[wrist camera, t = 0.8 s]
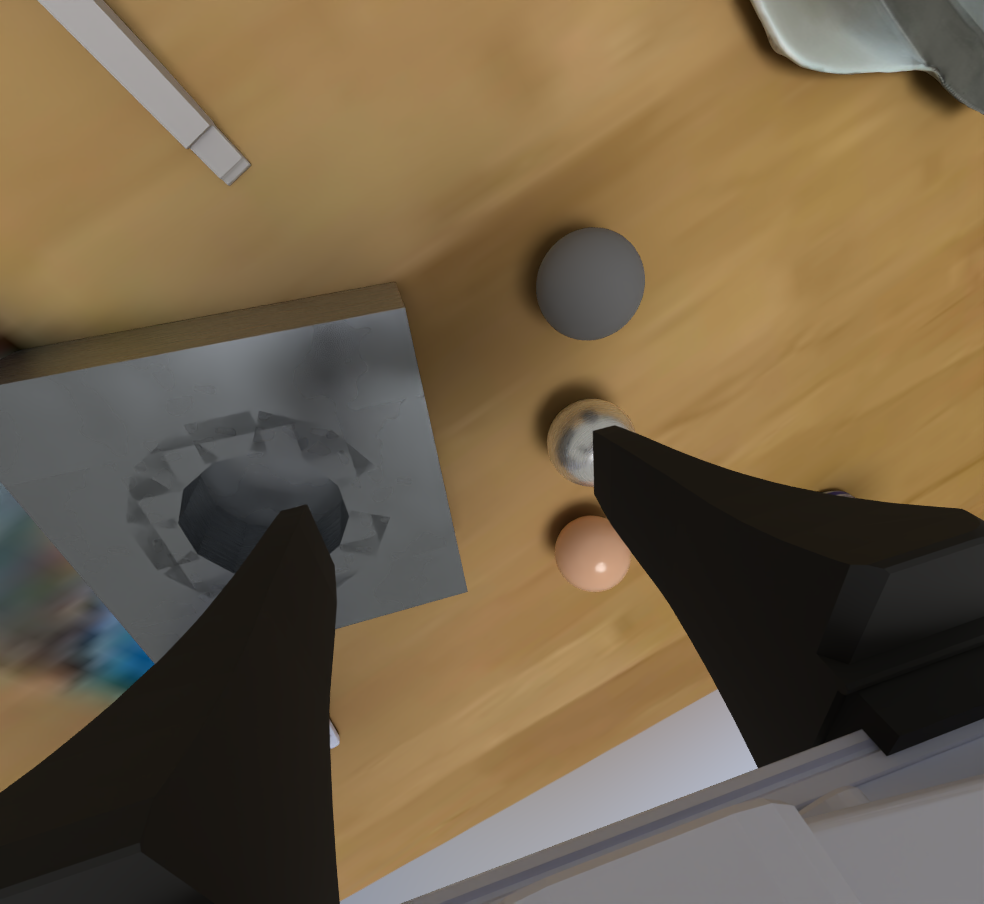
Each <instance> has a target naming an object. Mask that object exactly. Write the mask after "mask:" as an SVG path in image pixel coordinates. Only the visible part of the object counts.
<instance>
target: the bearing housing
mask: <svg viewBox="0 0 984 904" xmlns="http://www.w3.org/2000/svg"><path fill="white" fill-rule="evenodd" d="M0 482H1V483H2V484H3V485H4V487H5V488H6V489H7V490H8V491H9V492H10V494H11V495H12V496H13V497H14V498H15V499H16V501H17V502H18V503H19V504H20V505H21V507H22V508H23V509H24V510H25V511H26V512H27V514H28V515H29V516H30V517H31V518H32V520H33V521H34V522H35V523H36V524H37V525H38V527H39V528H40V529H41V530H42V531H43V533H44V534H45V535H46V536H47V537H48V538H49V540H50V541H51V542H52V543H53V544H54V546H55V547H56V548H57V549H58V550H59V551H60V553H61V554H62V555H63V556H64V557H65V558H66V560H67V561H68V562H69V563H70V564H71V566H72V567H73V568H74V569H75V570H76V571H77V573H78V574H79V575H80V576H81V577H82V579H83V580H84V581H85V582H86V583H87V584H88V586H89V587H90V588H91V589H92V590H93V592H94V593H95V594H96V595H97V596H98V597H99V599H100V600H101V601H102V602H103V603H104V604H105V606H106V607H107V608H108V609H109V610H110V612H111V613H112V614H113V615H114V616H115V617H116V619H117V620H118V621H119V622H120V623H121V625H122V626H123V627H124V628H125V629H126V630H127V632H128V633H129V634H130V635H131V636H132V638H133V639H134V640H135V641H136V642H137V643H138V645H139V646H140V647H141V648H142V649H143V650H144V652H145V653H146V654H147V655H148V656H149V658H150V659H151V660H152V661H153V662H154V663H155V664H156V663H157V662H158V661H159V660H160V659H161V658H162V657H163V656H164V655H165V654H166V653H167V652H168V651H169V650H170V649H171V647H172V646H173V645H174V644H175V643H176V642H177V641H178V640H179V639H180V638H181V637H182V636H183V635H184V634H185V633H186V632H187V631H188V630H189V628H190V627H191V626H192V625H193V624H194V623H195V622H196V621H197V620H198V618H199V617H200V616H201V615H202V614H203V613H204V612H205V610H206V609H207V608H208V607H209V605H210V604H211V603H212V602H213V600H214V599H215V598H216V597H217V596H218V594H219V593H220V592H221V591H222V589H223V588H224V587H225V586H226V584H227V583H228V582H229V581H230V579H231V578H232V577H233V576H234V574H235V573H236V572H237V570H238V569H239V568H240V566H241V565H242V564H243V562H244V561H245V560H246V558H247V557H248V555H249V554H250V553H251V551H252V550H253V549H254V547H255V546H256V544H257V543H258V542H259V540H260V539H261V537H262V536H263V535H264V533H265V532H266V530H267V529H268V527H269V526H270V525H271V523H272V522H273V520H274V519H275V518H276V516H277V515H278V514H279V513H280V511H282V510H286V509H290V508H294V507H298V506H302V505H306V504H307V505H308V507H309V509H310V512H311V514H312V516H313V518H314V521H315V523H316V525H317V527H318V529H319V532H320V534H321V536H322V538H323V541H324V543H325V545H326V547H327V549H328V552H329V554H330V556H331V558H332V561H333V563H334V565H335V576H336V592H337V611H336V625H335V629H337V628H341V627H345V626H348V625H352V624H355V623H359V622H362V621H366V620H369V619H373V618H376V617H380V616H383V615H387V614H390V613H394V612H397V611H401V610H405V609H408V608H412V607H415V606H419V605H422V604H426V603H429V602H433V601H436V600H440V599H443V598H447V597H450V596H454V595H458V594H461V593H465V592H468V591H467V586H466V582H465V577H464V573H463V568H462V564H461V559H460V555H459V550H458V546H457V541H456V537H455V532H454V528H453V523H452V518H451V514H450V509H449V505H448V500H447V496H446V491H445V487H444V482H443V478H442V473H441V469H440V464H439V460H438V455H437V451H436V446H435V442H434V437H433V432H432V428H431V423H430V419H429V414H428V410H427V405H426V401H425V396H424V392H423V387H422V383H421V378H420V374H419V369H418V365H417V360H416V355H415V351H414V346H413V342H412V337H411V333H410V328H409V324H408V319H407V315H406V310H405V306H404V304H403V301H402V298H401V296H400V293H399V290H398V288H397V285H396V282H391V283H386V284H380V285H375V286H369V287H364V288H358V289H353V290H347V291H342V292H336V293H331V294H325V295H320V296H314V297H309V298H303V299H298V300H292V301H287V302H282V303H276V304H271V305H265V306H260V307H254V308H249V309H243V310H238V311H232V312H227V313H221V314H216V315H210V316H205V317H199V318H194V319H188V320H183V321H177V322H172V323H166V324H161V325H156V326H150V327H145V328H139V329H134V330H128V331H123V332H117V333H112V334H106V335H101V336H95V337H90V338H84V339H79V340H73V341H68V342H62V343H57V344H51V345H46V346H40V347H35V348H30V349H24V350H19V351H16V352H14V353H12V354H10V355H8V356H7V357H5V358H3V359H1V360H0Z"/></svg>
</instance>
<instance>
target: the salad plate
mask: <svg viewBox="0 0 984 904" xmlns="http://www.w3.org/2000/svg"><path fill="white" fill-rule="evenodd" d="M750 1H751V3H752V5H753V7H754V9H755V11H756V14H757V16H758V17H759V19H760V21H761V22H762V24H763V27H764V29H765V32H766V34H767V37H768V40H769V43H770V45H771V47H772V49H773V50H774V51H775V52H776V53H778V54H780V55H783V56H785V57H787V58H788V59H790V60H791V61H792V62H794V63H795V64H797V65H798V66H800V67H803V68H807V69H811V70H815V71H819V72H826V73H834V74H851V75H853V74H859V73H867V72H898V71H912V70H919V71H925V72H927V73H928V74H930V75H931V76H933V77H934V78H935V79H936V80H937V81H939V82H940V84H941V85H942V86H943V87H944V88H945V89H946V90H947V91H948V92H949V93H950V95H952V96H953V97H954V98H955V99H957V100H958V101H959V102H961V103H963V104H965V105H966V106H968V107H969V108H972V109H974V110H976V111H978V112H980V113H981V114H983V115H984V0H750Z"/></svg>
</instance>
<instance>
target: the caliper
mask: <svg viewBox="0 0 984 904" xmlns="http://www.w3.org/2000/svg"><path fill="white" fill-rule="evenodd" d="M38 1H39V2H40V3H41V4H42V5H43V6H44V7H45V8H46V9H47V10H48V11H49V12H50V13H51V14H52V15H53V16H54V17H55V18H56V19H57V20H58V21H59V22H60V23H61V24H62V25H63V26H64V27H65V28H66V29H67V30H68V31H69V32H70V33H71V34H72V35H73V36H74V37H75V38H76V39H77V40H78V41H79V42H80V43H81V44H82V45H83V46H84V47H85V48H86V49H87V50H88V51H89V52H90V53H91V54H92V55H93V56H94V57H95V58H96V59H97V60H98V61H99V62H100V63H101V64H102V65H103V66H104V67H105V68H106V69H107V70H108V71H109V72H110V73H111V74H112V75H113V76H114V77H115V78H116V79H117V80H118V81H119V82H120V83H121V84H122V85H123V86H124V87H125V88H126V89H127V90H128V91H129V92H130V93H131V94H132V95H133V96H134V97H135V98H136V99H137V100H138V101H139V102H140V103H141V104H142V105H143V106H144V107H145V108H146V109H147V110H148V111H149V112H150V113H151V114H152V115H153V116H154V117H155V118H156V119H157V120H158V121H159V122H160V123H161V124H162V125H163V126H164V127H165V128H166V129H167V130H168V131H169V132H170V133H171V134H172V135H173V136H174V137H175V138H176V139H177V140H178V141H179V142H180V143H181V144H182V145H183V146H184V147H185V148H186V149H189V148H190V149H191V150H192V151H193V152H194V153H195V154H196V155H197V156H198V157H199V158H200V159H201V160H202V161H203V162H204V163H205V164H206V165H207V166H208V167H209V168H210V169H211V170H212V171H213V172H214V173H215V174H216V175H217V176H218V177H219V178H220V179H222V180H223V181H224V182H225V183H226V184H227V185H229V186H230V185H231V184H232V183H233V182H234V181H235V180H236V179H237V178H238V177H239V176H240V175H241V174H242V173H244V172H245V171H246V170H247V169H248V168H249V167H250V166H251V164H250V163H249V162H248V160H247V159H246V158H245V157H244V156H243V155H242V154H241V153H240V152H239V150H238V149H237V148H236V147H235V146H234V145H233V144H232V143H231V142H230V141H229V140H228V139H227V137H226V136H225V135H224V134H223V133H222V132H221V131H220V130H219V129H218V128H217V127H216V126H215V125H214V122H213V121H212V120H211V119H210V117H209V116H208V115H207V114H206V113H205V112H204V111H203V110H202V108H201V107H200V106H199V105H198V104H197V103H196V102H195V101H194V99H193V98H192V97H191V96H190V95H189V94H188V93H187V92H186V90H185V89H184V88H183V87H182V86H181V85H180V84H179V83H178V81H177V80H176V79H175V78H174V77H173V76H172V75H171V74H170V72H169V71H168V70H167V69H166V68H165V67H164V66H163V65H162V64H161V63H160V61H159V60H158V59H157V58H156V57H155V56H154V55H153V54H152V53H151V52H150V51H149V49H148V48H147V47H146V46H145V45H144V44H143V43H142V42H141V41H140V40H139V39H138V38H137V36H136V35H135V34H134V33H133V32H132V31H131V30H130V29H129V28H128V27H127V26H126V24H125V23H124V22H123V21H122V20H121V19H120V18H119V17H118V16H117V15H116V14H115V13H114V11H113V10H112V9H111V8H110V7H109V6H108V5H107V4H106V3H105V2H104V1H103V0H38Z"/></svg>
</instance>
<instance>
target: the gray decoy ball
mask: <svg viewBox="0 0 984 904" xmlns="http://www.w3.org/2000/svg"><path fill="white" fill-rule="evenodd" d="M644 287H645V274H644V268H643V264H642V261H641V258H640V256H639V254H638V253H637V251H636V249H635V248H634V246H633V245H632V244H631V243H630V242H629V241H628V240H627V239H626V238H624V237H623V236H622V235H620V234H618V233H616V232H614V231H611V230H609V229H605V228H595V227H591V228H584V229H580V230H576V231H574V232H571V233H569V234H567V235H566V236H564V237H563V238H561V239H560V240H559V241H557V242H556V243H555V244H554V245H553V246H552V247H551V249H550V250H549V251H548V252H547V254H546V255H545V257H544V259H543V261H542V263H541V265H540V268H539V271H538V275H537V281H536V294H537V300H538V304H539V307H540V309H541V312H542V314H543V315H544V317H545V319H546V320H547V321H548V323H549V324H550V325H551V326H552V327H553V328H554V329H555V330H557V331H558V332H560V333H561V334H563V335H565V336H567V337H570V338H574V339H577V340H596V339H601V338H604V337H606V336H609V335H611V334H613V333H615V332H617V331H618V330H619V329H621V328H622V327H623V326H624V325H626V324H627V323H628V321H629V320H630V319H631V318H632V317H633V315H634V314H635V312H636V310H637V309H638V307H639V305H640V302H641V300H642V297H643V293H644Z"/></svg>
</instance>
